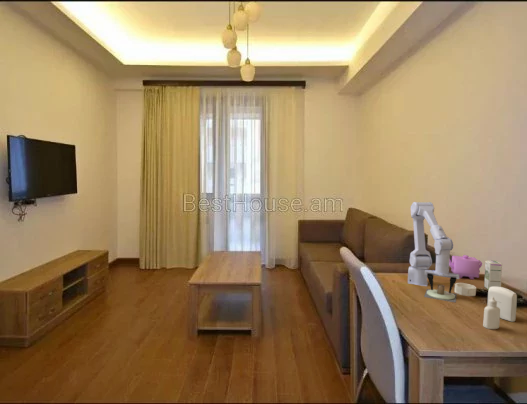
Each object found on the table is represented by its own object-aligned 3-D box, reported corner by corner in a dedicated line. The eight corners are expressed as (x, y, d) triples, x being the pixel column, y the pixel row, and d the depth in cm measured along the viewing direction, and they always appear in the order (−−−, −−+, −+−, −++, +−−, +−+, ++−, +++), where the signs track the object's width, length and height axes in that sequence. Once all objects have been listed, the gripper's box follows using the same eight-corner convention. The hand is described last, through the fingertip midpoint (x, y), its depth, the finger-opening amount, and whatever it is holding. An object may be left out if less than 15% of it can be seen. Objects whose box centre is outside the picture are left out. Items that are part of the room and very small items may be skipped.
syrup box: (501, 291, 171) (503, 263, 169) (488, 290, 172) (490, 262, 171) (495, 287, 176) (497, 260, 175) (483, 286, 177) (485, 259, 176)
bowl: (454, 294, 165) (454, 286, 165) (454, 289, 173) (455, 281, 172) (475, 298, 160) (476, 290, 160) (475, 292, 168) (475, 284, 168)
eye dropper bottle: (480, 323, 133) (483, 294, 132) (497, 326, 131) (499, 296, 130) (484, 328, 128) (486, 298, 127) (501, 330, 127) (503, 300, 126)
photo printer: (484, 313, 143) (486, 284, 142) (490, 311, 145) (492, 283, 144) (511, 322, 134) (513, 292, 133) (517, 320, 136) (519, 291, 135)
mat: (423, 297, 160) (423, 296, 160) (426, 289, 171) (426, 288, 171) (455, 303, 153) (455, 302, 153) (456, 294, 165) (456, 293, 165)
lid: (425, 296, 160) (426, 286, 160) (428, 289, 171) (428, 280, 170) (454, 301, 154) (454, 291, 154) (455, 294, 164) (455, 284, 164)
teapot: (478, 275, 197) (479, 254, 196) (483, 280, 188) (485, 258, 187) (440, 272, 204) (441, 251, 203) (443, 277, 194) (445, 255, 193)
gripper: (424, 263, 161) (423, 290, 163) (459, 267, 154) (457, 296, 155) (426, 259, 167) (424, 286, 169) (460, 264, 160) (458, 292, 161)
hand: (440, 291), depth 162 cm, fingers open, 7 cm apart
